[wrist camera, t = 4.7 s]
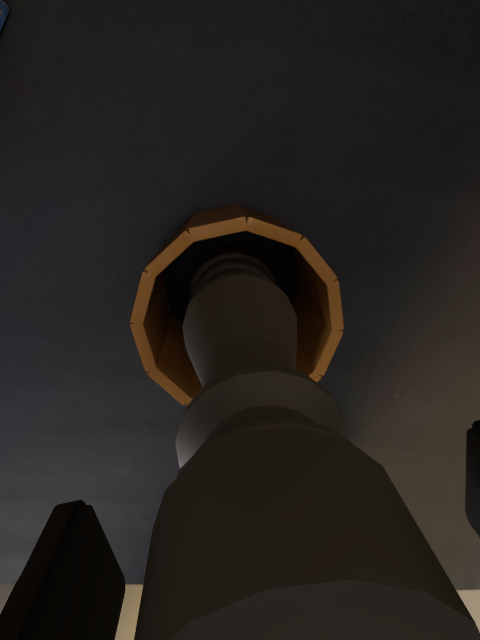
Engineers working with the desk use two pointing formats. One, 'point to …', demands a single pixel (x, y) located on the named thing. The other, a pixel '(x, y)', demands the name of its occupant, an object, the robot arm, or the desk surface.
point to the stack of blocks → (3, 13)
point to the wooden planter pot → (166, 330)
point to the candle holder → (279, 495)
